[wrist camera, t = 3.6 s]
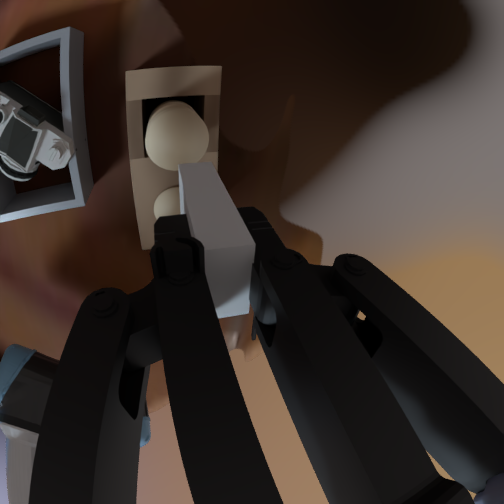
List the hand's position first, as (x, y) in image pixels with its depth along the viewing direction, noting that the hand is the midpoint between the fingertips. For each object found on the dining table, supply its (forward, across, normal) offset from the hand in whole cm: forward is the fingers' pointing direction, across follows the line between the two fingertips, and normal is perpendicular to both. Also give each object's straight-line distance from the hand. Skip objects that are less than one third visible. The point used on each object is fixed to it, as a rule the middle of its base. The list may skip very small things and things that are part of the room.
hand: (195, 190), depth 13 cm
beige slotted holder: (+24, 0, -4) cm, 24 cm away
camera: (+24, -19, +1) cm, 30 cm away
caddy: (+24, -18, +2) cm, 30 cm away
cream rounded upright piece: (+17, 0, 0) cm, 17 cm away
